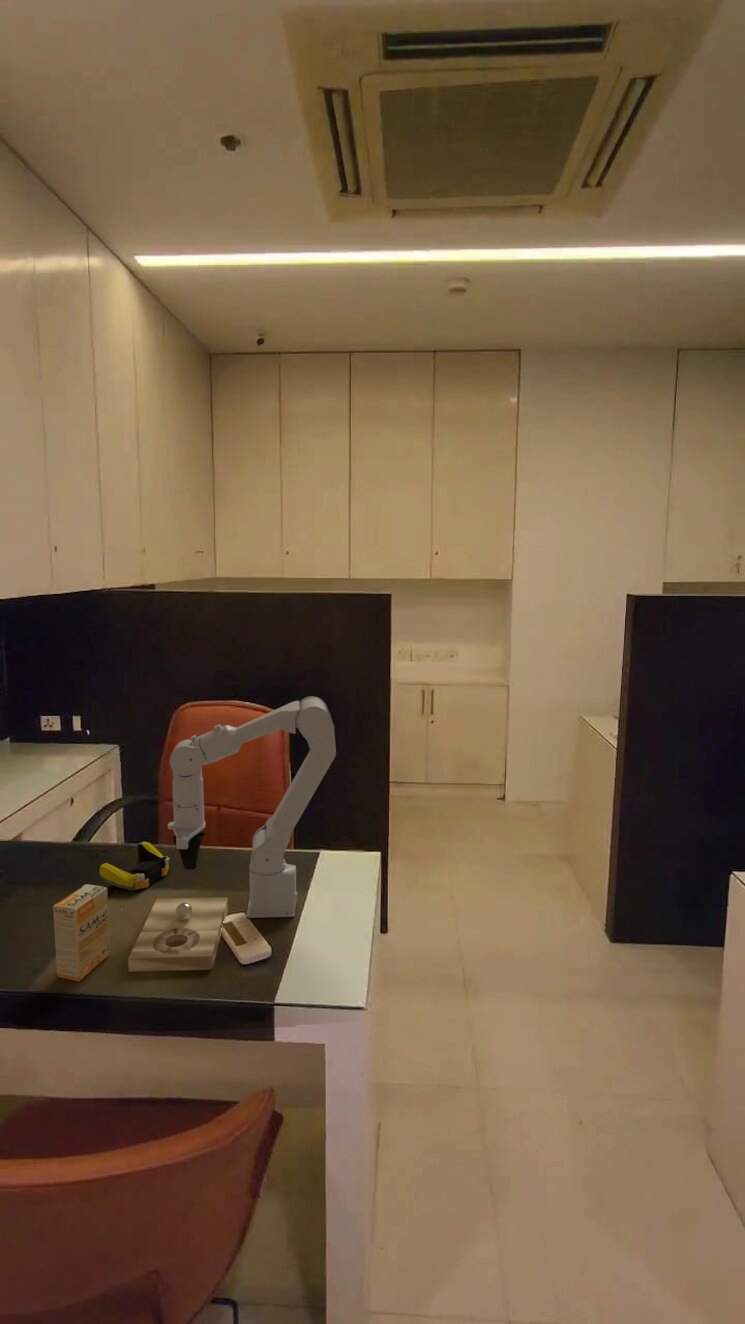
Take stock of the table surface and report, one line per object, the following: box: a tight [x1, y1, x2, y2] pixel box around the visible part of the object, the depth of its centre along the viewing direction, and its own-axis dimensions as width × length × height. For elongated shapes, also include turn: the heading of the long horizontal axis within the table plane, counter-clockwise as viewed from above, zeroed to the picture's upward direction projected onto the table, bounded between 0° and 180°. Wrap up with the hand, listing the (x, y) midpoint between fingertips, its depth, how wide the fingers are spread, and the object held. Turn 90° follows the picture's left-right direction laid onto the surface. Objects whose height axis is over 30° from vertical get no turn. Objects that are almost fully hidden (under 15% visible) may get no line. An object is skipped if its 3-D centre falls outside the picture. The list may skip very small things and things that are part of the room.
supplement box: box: [52, 883, 111, 983], centre depth 116 cm, size 8×5×13 cm, turn 164°
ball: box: [175, 903, 193, 921], centre depth 127 cm, size 3×3×3 cm
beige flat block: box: [127, 896, 229, 973], centre depth 126 cm, size 20×14×2 cm
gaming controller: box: [98, 841, 170, 892], centre depth 148 cm, size 15×6×10 cm
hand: (190, 868), depth 133 cm, fingers closed
